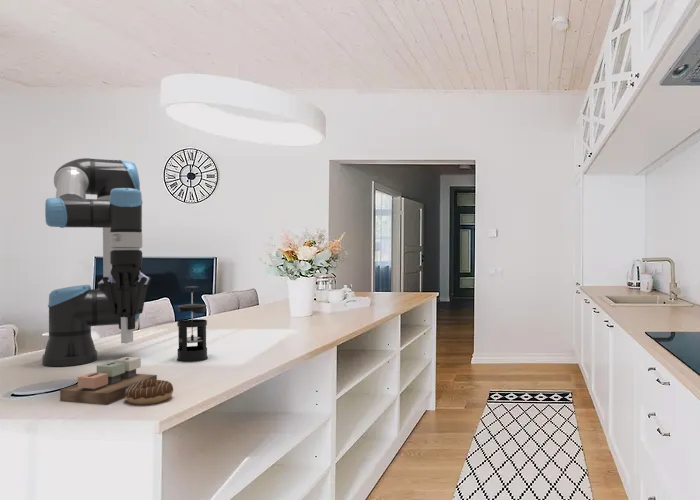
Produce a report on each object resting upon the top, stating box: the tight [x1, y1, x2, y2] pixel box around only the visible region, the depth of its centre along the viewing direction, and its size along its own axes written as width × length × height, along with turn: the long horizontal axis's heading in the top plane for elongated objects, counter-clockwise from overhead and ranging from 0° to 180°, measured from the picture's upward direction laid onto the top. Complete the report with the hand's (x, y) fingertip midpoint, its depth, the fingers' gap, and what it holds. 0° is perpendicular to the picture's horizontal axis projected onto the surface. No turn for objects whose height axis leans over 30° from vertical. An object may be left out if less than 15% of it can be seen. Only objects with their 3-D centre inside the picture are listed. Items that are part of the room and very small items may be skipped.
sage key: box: [96, 361, 125, 377], centre depth 131 cm, size 4×4×3 cm
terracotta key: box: [77, 372, 108, 389], centre depth 125 cm, size 4×4×3 cm
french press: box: [176, 285, 209, 363], centre depth 170 cm, size 12×9×23 cm
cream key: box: [113, 356, 142, 371], centre depth 137 cm, size 4×4×3 cm
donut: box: [124, 379, 174, 406], centre depth 125 cm, size 11×11×4 cm
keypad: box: [59, 369, 158, 406], centre depth 131 cm, size 13×18×4 cm
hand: (127, 342), depth 137 cm, fingers closed
